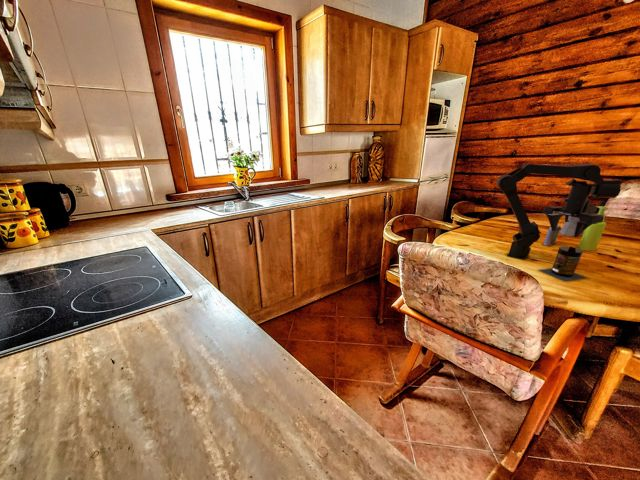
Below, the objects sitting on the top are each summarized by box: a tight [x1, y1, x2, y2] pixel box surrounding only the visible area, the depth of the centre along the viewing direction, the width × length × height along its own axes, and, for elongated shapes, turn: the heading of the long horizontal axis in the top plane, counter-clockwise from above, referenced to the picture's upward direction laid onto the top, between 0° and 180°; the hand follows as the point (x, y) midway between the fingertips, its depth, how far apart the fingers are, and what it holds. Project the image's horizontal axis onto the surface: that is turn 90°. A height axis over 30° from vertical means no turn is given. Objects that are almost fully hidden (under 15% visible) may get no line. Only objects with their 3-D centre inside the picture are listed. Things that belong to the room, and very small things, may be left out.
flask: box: [542, 224, 562, 247], centre depth 137 cm, size 9×3×11 cm, turn 121°
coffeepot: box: [558, 213, 589, 238], centre depth 147 cm, size 15×9×18 cm, turn 103°
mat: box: [538, 267, 587, 282], centre depth 110 cm, size 10×10×1 cm
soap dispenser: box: [577, 205, 608, 252], centre depth 128 cm, size 6×7×20 cm
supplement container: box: [550, 245, 584, 277], centre depth 108 cm, size 7×7×10 cm
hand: (564, 233), depth 118 cm, fingers open, 9 cm apart
